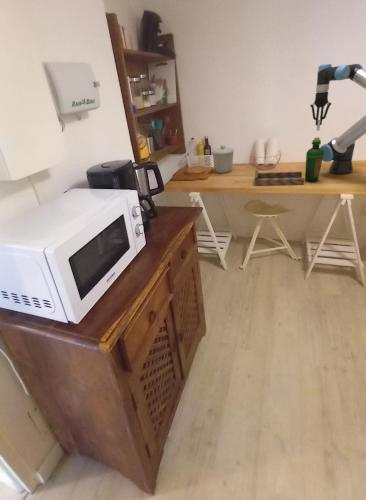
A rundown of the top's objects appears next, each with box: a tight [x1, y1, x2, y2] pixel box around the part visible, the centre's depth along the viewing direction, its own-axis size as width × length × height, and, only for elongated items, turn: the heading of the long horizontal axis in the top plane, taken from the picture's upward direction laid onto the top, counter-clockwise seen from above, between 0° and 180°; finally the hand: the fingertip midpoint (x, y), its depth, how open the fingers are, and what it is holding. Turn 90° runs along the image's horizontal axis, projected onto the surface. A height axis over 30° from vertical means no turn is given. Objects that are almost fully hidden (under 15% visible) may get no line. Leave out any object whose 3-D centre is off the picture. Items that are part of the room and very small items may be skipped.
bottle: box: [304, 137, 324, 183], centre depth 194 cm, size 11×11×28 cm
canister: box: [211, 144, 235, 174], centre depth 236 cm, size 18×18×21 cm
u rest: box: [254, 169, 305, 187], centre depth 205 cm, size 32×17×6 cm, turn 77°
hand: (317, 130), depth 202 cm, fingers closed
